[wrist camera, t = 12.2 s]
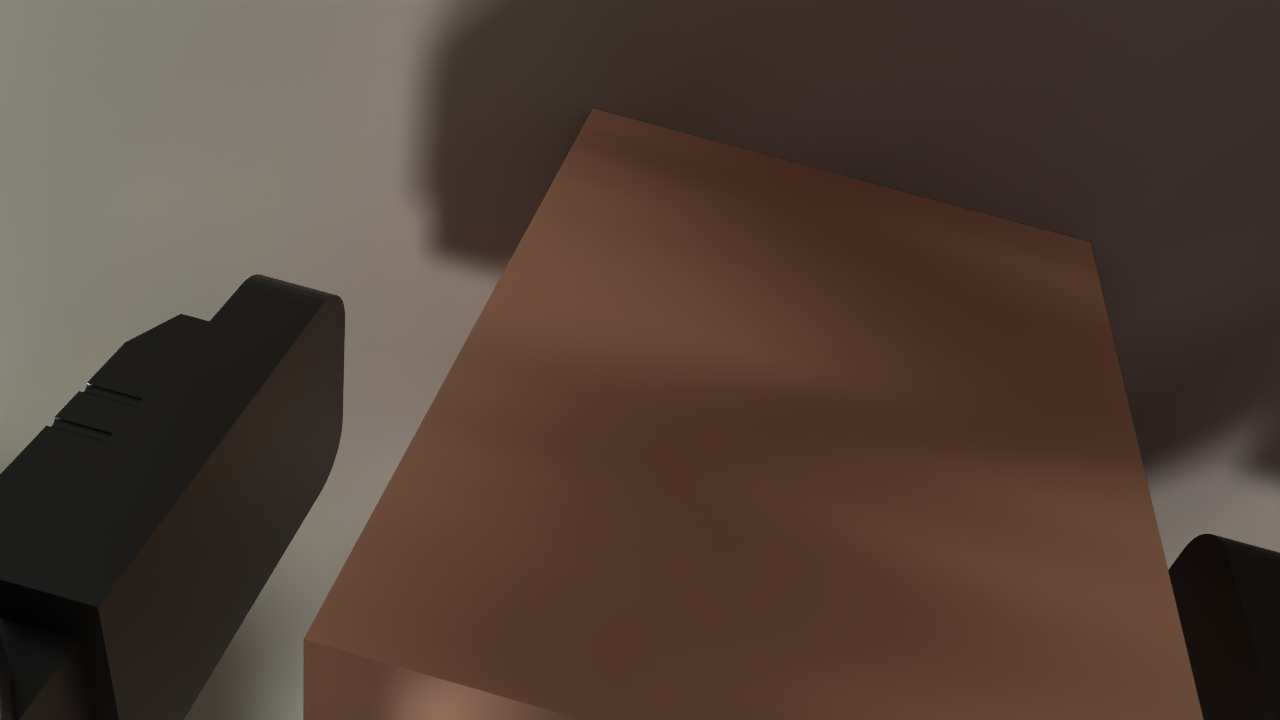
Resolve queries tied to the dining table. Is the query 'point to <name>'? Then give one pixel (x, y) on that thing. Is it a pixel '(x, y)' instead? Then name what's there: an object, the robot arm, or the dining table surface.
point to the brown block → (764, 470)
